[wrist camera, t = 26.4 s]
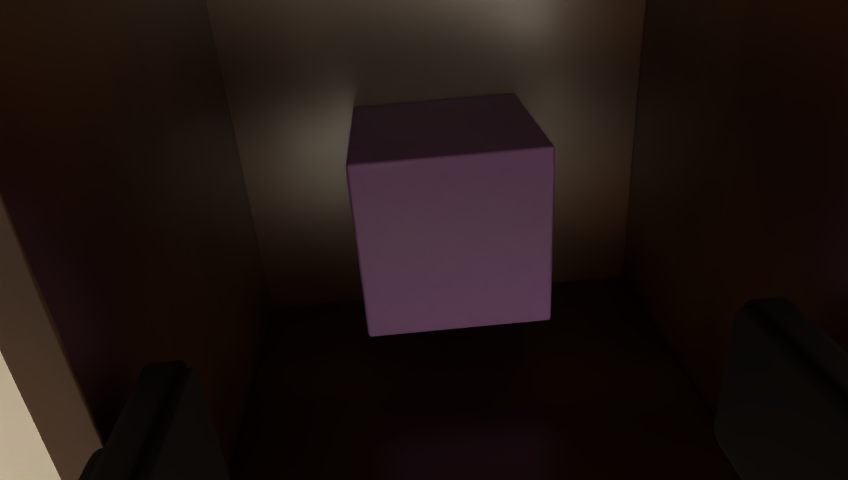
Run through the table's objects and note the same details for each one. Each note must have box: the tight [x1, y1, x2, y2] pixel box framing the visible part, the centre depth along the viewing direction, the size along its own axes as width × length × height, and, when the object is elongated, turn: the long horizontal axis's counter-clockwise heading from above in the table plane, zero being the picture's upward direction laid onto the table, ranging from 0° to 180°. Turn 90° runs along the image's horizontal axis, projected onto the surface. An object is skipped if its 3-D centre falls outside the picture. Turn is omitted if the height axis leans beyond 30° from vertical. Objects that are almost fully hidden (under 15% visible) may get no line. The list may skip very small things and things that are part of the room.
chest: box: [0, 0, 848, 480], centre depth 14 cm, size 17×14×12 cm
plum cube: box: [346, 94, 555, 337], centre depth 18 cm, size 5×5×5 cm
